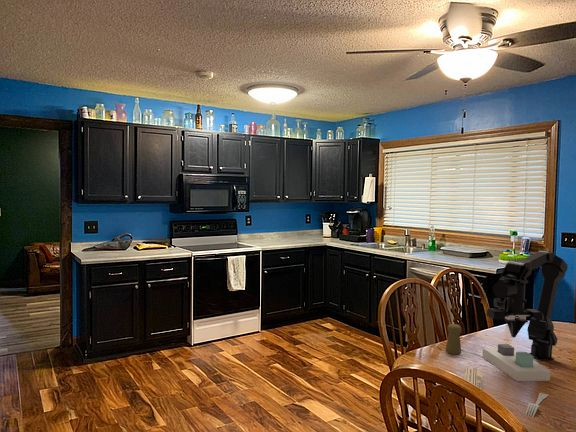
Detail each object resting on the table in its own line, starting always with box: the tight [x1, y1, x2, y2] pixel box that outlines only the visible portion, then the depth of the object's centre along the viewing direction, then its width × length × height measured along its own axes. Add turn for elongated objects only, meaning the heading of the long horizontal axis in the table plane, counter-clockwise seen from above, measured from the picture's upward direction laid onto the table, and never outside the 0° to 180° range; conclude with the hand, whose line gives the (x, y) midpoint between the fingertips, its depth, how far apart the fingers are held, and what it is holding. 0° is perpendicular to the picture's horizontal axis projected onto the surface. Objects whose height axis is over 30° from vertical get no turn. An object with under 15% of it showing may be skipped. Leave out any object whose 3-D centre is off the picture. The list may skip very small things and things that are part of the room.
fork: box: [525, 392, 549, 418], centre depth 134 cm, size 3×21×3 cm, turn 139°
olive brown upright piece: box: [445, 323, 462, 355], centre depth 177 cm, size 6×6×11 cm
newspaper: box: [463, 366, 484, 390], centre depth 148 cm, size 24×7×2 cm, turn 156°
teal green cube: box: [515, 351, 535, 367], centre depth 156 cm, size 4×4×4 cm
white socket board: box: [482, 347, 551, 382], centre depth 162 cm, size 12×22×4 cm, turn 6°
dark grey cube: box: [497, 343, 515, 356], centre depth 167 cm, size 4×4×4 cm
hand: (513, 337), depth 162 cm, fingers closed
